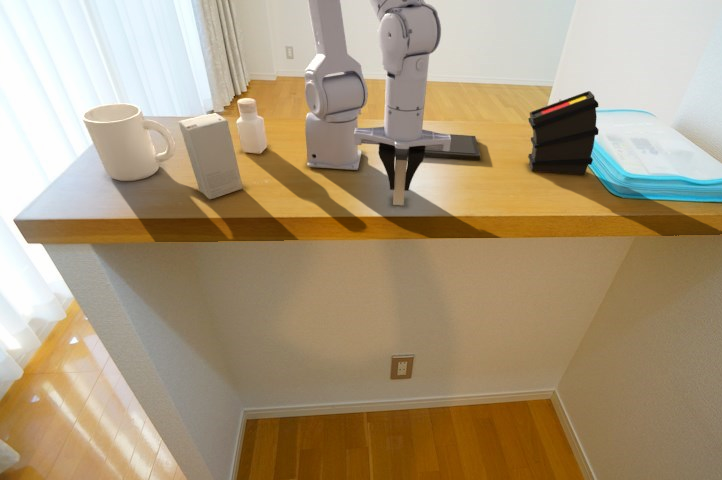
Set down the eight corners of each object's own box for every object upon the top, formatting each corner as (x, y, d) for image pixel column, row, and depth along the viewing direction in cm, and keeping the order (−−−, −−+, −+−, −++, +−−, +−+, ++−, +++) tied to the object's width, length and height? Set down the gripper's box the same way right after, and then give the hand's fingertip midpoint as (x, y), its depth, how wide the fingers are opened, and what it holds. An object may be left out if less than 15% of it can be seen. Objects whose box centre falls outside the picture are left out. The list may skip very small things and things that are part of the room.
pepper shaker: (241, 152, 81) (231, 103, 74) (249, 144, 84) (240, 96, 77) (260, 155, 80) (252, 105, 74) (268, 146, 83) (261, 98, 77)
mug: (187, 158, 77) (170, 103, 71) (177, 180, 71) (158, 121, 65) (116, 160, 75) (92, 103, 69) (100, 183, 69) (72, 123, 62)
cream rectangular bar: (392, 204, 69) (395, 154, 64) (393, 199, 71) (396, 149, 65) (403, 205, 69) (407, 155, 64) (403, 199, 71) (407, 150, 65)
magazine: (605, 170, 80) (597, 96, 71) (536, 191, 84) (521, 123, 75) (598, 161, 83) (590, 89, 74) (532, 182, 87) (517, 115, 78)
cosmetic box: (232, 179, 73) (216, 110, 65) (244, 190, 70) (229, 119, 62) (197, 190, 69) (176, 119, 61) (209, 202, 67) (188, 129, 59)
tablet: (391, 154, 84) (391, 149, 83) (393, 134, 91) (393, 129, 91) (479, 160, 84) (480, 155, 83) (474, 140, 92) (475, 135, 91)
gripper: (350, 110, 56) (352, 196, 65) (456, 117, 56) (444, 203, 65) (356, 93, 62) (357, 175, 70) (453, 100, 62) (442, 181, 71)
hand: (399, 187), depth 68 cm, fingers closed on cream rectangular bar, 2 cm apart
